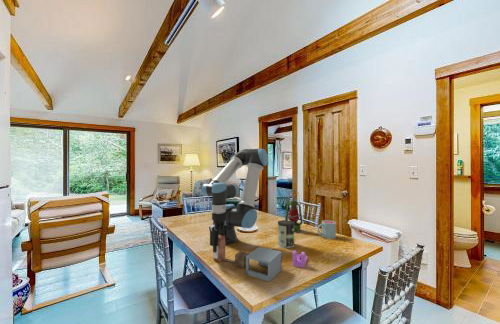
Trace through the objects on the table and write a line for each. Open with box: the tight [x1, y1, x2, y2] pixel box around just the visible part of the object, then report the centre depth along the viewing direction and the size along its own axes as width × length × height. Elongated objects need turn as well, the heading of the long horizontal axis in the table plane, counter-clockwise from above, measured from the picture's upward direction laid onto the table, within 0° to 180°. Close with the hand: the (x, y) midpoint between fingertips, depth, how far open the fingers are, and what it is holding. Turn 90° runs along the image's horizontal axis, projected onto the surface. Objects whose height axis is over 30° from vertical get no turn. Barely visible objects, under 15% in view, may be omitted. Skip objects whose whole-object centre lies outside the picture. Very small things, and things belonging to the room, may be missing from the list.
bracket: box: [291, 249, 308, 269], centre depth 117 cm, size 13×6×7 cm, turn 156°
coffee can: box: [277, 219, 295, 249], centre depth 140 cm, size 10×10×14 cm
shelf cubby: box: [245, 246, 283, 282], centre depth 106 cm, size 12×13×8 cm
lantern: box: [284, 190, 304, 234], centre depth 170 cm, size 14×11×30 cm
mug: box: [317, 219, 337, 240], centre depth 156 cm, size 14×9×10 cm
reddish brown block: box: [212, 235, 250, 269], centre depth 116 cm, size 19×5×12 cm, turn 61°
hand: (218, 256), depth 119 cm, fingers closed on reddish brown block, 4 cm apart
